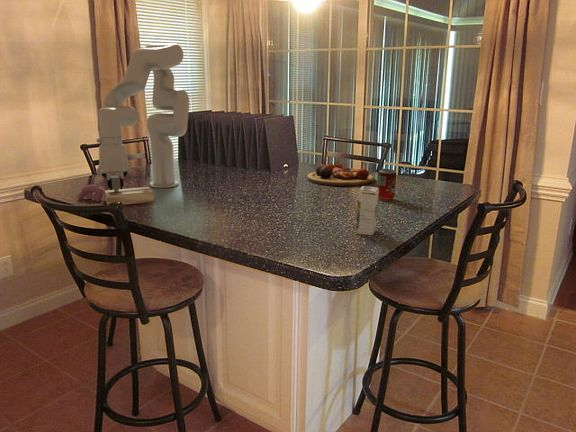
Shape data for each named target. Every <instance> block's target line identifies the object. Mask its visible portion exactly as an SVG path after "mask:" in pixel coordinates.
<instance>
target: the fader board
mask: <svg viewBox="0 0 576 432" xmlns="http://www.w3.org/2000/svg"><path fill="white" fill-rule="evenodd" d="M118 189H119V191H118V192H114V189H112V190H110V189H107V190H105V194H104V196H105V203H106V205H107V204H110V203H113V202H122V204H123V205H131V204H133V205H134V204H142V203H143V204H144V203H152V202H153V203H154V202H155V200H154V199H155V197H154V190H152V189H151V186H143V187H131V188H122V189H120V188H118Z"/></svg>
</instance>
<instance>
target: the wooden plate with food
mask: <svg viewBox="0 0 576 432" xmlns="http://www.w3.org/2000/svg"><path fill="white" fill-rule="evenodd" d="M306 179H307V180H308V182H310V183H311V182H312V183H314V184H317V185H318V184H319V185H326V186H336V187H337V186H338V187H346V186H347V187H350V186H362V185H363V186H364V185H367V184H370V183H372V182H374V180H375V179H374V176H373V175H372V174H370V172H369V171H368V169H366V168H356V169H353V168H350V167H348V166H344V167H343V164H342V163H340V162H338V161H337V162H336V163H327V164H323V163H320V164H319V165H318V166H317V167H316V168H315V171H312V172H310V173H308V174H307V176H306Z"/></svg>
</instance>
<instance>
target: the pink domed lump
mask: <svg viewBox="0 0 576 432" xmlns="http://www.w3.org/2000/svg"><path fill="white" fill-rule="evenodd" d="M93 193H94V194H93ZM104 196H105V188H103V187H102V186H100V185H98V184H90V185H89V184H88V185H87V184H86V185H84V186H83V187H82V189H81V190H80V192H79V193H78V196H77V199H78V200H79V201H82V200H83V199H84V198H85V197H86V198H87V199H88V200H92V199H94V200H95V202H96V203H98V202H101V200H102V199H103V197H104Z"/></svg>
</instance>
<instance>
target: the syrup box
mask: <svg viewBox="0 0 576 432" xmlns="http://www.w3.org/2000/svg"><path fill="white" fill-rule="evenodd" d="M378 193H379V188H378V187H376V186H375V187H374V186H368V185H367V186H365V185H363V186H362V185H361V187H360V188H359V189H358V197H357V210H356V225H355V235H357V234H358V235H366V236H367V235H368V236H374V234H375V232H376V229H377V216H378V215H377V214H378V206H379V205H378V204H379V198H378Z"/></svg>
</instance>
